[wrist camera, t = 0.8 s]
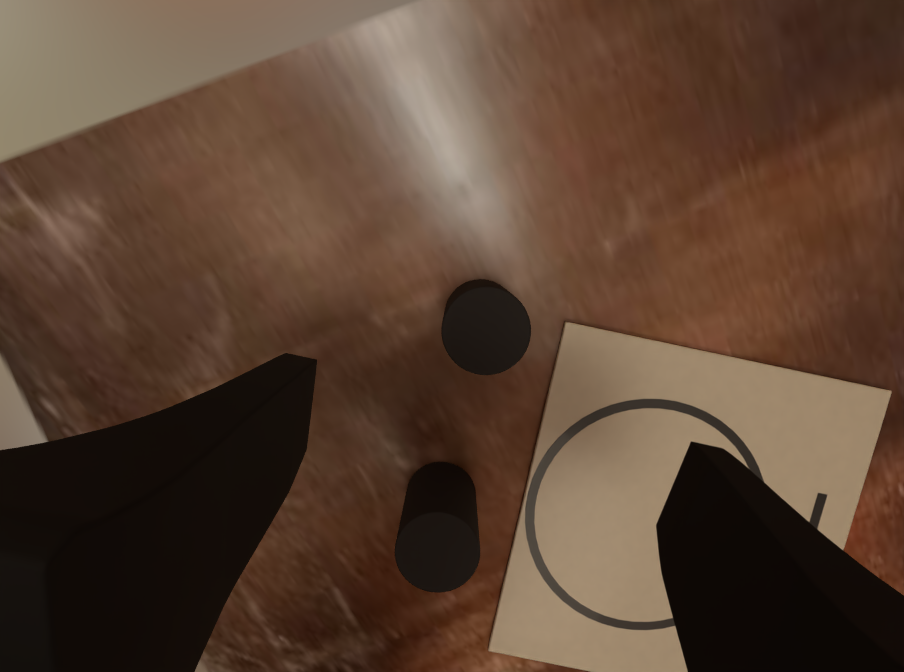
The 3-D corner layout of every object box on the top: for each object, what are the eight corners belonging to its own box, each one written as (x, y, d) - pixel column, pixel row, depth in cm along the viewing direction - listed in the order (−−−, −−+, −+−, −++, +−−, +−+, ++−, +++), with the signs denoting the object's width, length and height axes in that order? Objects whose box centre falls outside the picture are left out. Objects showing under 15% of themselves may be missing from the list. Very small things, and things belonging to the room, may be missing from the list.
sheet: (790, 708, 30) (794, 713, 29) (487, 647, 29) (488, 651, 29) (887, 389, 28) (893, 391, 27) (564, 320, 27) (566, 321, 27)
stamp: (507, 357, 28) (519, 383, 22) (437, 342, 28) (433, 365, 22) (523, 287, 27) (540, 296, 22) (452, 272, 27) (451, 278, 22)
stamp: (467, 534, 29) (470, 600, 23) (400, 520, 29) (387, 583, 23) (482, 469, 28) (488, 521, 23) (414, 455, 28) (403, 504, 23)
